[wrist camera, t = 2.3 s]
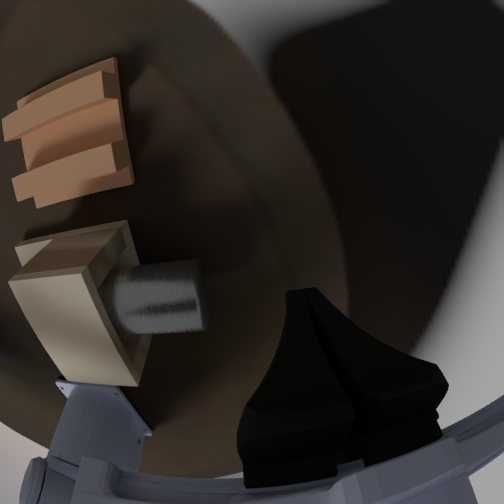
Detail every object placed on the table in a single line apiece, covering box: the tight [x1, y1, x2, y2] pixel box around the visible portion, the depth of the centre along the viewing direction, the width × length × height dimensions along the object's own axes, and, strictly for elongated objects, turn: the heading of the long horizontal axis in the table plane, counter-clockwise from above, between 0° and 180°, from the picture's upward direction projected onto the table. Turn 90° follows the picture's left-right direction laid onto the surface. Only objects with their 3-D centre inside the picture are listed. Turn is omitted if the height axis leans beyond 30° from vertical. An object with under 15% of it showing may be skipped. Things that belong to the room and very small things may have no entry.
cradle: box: [2, 57, 135, 208], centre depth 11 cm, size 7×7×2 cm
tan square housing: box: [8, 220, 153, 386], centre depth 14 cm, size 7×9×6 cm
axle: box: [97, 258, 209, 335], centre depth 14 cm, size 10×4×4 cm, turn 96°
